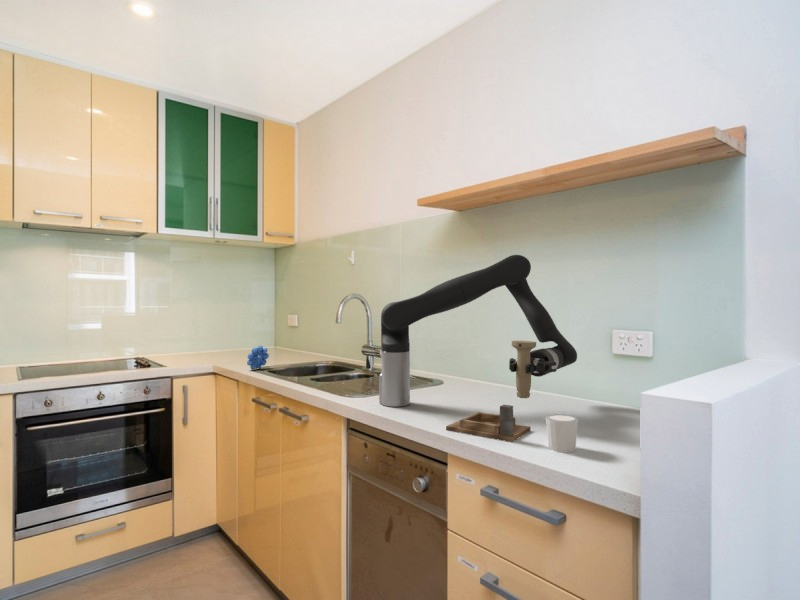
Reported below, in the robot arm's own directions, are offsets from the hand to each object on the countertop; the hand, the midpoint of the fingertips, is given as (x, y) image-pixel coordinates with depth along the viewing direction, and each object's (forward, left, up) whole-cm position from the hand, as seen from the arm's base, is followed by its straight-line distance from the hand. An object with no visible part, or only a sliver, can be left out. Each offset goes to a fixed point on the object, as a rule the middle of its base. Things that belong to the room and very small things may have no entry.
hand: (519, 368), depth 121 cm
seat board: (-6, -7, -16) cm, 18 cm away
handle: (0, +3, -8) cm, 9 cm away
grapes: (-148, +27, -16) cm, 151 cm away
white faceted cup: (+14, -11, -16) cm, 24 cm away
